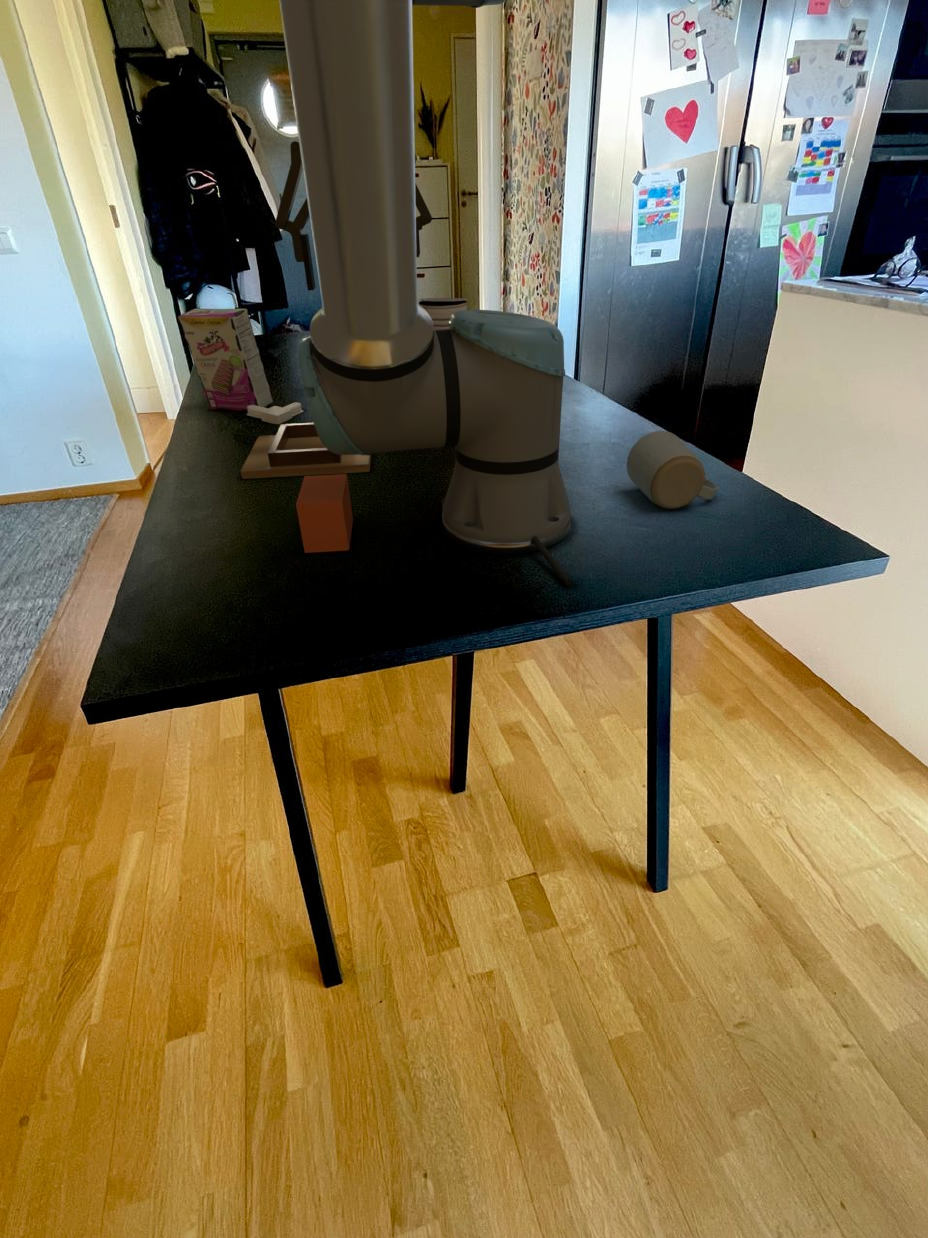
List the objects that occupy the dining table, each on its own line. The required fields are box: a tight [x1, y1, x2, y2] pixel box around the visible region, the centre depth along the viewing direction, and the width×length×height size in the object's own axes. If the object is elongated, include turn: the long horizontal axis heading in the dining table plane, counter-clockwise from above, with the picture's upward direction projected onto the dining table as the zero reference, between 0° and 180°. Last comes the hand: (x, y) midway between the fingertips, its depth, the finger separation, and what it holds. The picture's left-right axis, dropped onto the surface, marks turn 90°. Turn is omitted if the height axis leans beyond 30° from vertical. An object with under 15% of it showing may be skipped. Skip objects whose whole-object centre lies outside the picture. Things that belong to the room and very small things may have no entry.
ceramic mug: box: [626, 430, 719, 510], centre depth 82 cm, size 11×8×8 cm
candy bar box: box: [177, 308, 274, 412], centre depth 116 cm, size 11×5×16 cm, turn 70°
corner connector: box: [245, 401, 304, 425], centre depth 118 cm, size 8×8×2 cm
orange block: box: [295, 473, 354, 554], centre depth 77 cm, size 8×5×6 cm, turn 5°
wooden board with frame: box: [239, 422, 372, 480], centre depth 99 cm, size 15×18×3 cm
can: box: [417, 297, 468, 330], centre depth 151 cm, size 11×11×12 cm
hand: (361, 287), depth 91 cm, fingers open, 13 cm apart
